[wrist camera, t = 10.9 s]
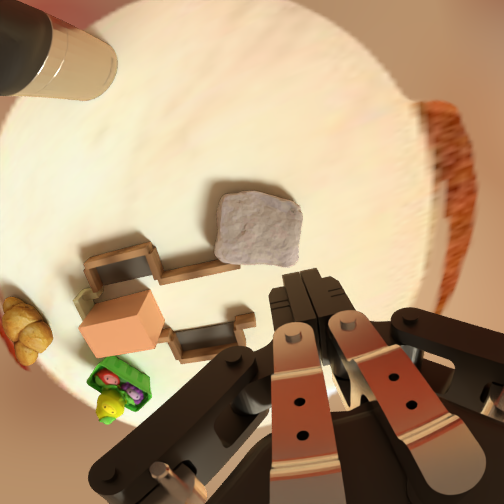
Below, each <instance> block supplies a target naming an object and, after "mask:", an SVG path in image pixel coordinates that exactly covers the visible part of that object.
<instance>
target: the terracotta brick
mask: <svg viewBox="0 0 504 504" xmlns="http://www.w3.org/2000/svg"><path fill="white" fill-rule="evenodd" d="M164 322H165V319H164V317H163V315H162V313H161V311H160V309H159V307H158V305H157V303H156V301H155V298H154V296H153V294H152V292H151V290H146V291H142V292H138V293H135V294H131V295H127V296H123V297H119V298H115V299H112V300H108V301H104V302H100V303H96V304H95V305H94V306H93V308H92V309H91V311H90V312H89V313H88V315H87V316H86V318H85V319H84V320H83V322H82V323H81V325H80V326H79V327H78V329H79V330H80V332H81V334H82V335H83V337H84V339H85V340H86V342H87V344H88V345H89V347H90V348H91V350H92V352H93V353H94V355H95V356H96V358H102V357H108V356H114V355H121V354H127V353H133V352H138V351H144V350H150V349H155V347H156V344H157V342H158V339H159V336H160V333H161V330H162V327H163V325H164Z"/></svg>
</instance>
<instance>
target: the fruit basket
mask: <svg viewBox="0 0 504 504" xmlns="http://www.w3.org/2000/svg"><path fill="white" fill-rule="evenodd" d="M87 384H88V385H89V386H91V387H92V388H94V389H95V390H97V391H99V392H100V393H101V395H99V397H98V400H97V408H96V414H97V416H98V418H99V421H100V422H103V423H104V424H111V423H112V422H113V421H114V420H116V418H117V417H119V416H121V415H122V414H123V413H124V407H126V408H128V409H130V410H131V411H134V412H137V411H139V410H140V409H141V408H142V407H143V406H144V405H145V404H146V403H147V402H148V401H149V400H150V399H151V398H152V394H151V390H150V377H148V376H147V375H145V374H143V373H141V372H139V371H138V370H137V369H135V368H133V367H131V366H129V365H128V364H127V363H125V362H124V361H122V360H120V359H118V358H117V357H116V356H108V357H106V358H105V359H104V360H103V361H102V362H100V363H99V364H97V366H96V367H95V369H94V371H93V372H92V374H91V375H90V377H89V378H88V379H87Z"/></svg>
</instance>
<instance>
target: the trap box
mask: <svg viewBox="0 0 504 504" xmlns="http://www.w3.org/2000/svg"><path fill="white" fill-rule="evenodd" d="M84 266H85V269H84V273H85V275H86V278H87V280H88V282H89V284H90V287H91V288H87V289H86V291H85V292H84V293H83V294H82V295H81V296H82V298H83V300H84V301H86V300H91V299H96V298H99V296H100V295H101V294H102V292H103V291H104V290H103V285H108V284H113V283H117V282H122V281H126V280H131V279H135V278H140V277H145V276H149V275H153V278H154V280H158V282H159V285H165V284H170V283H175V282H179V281H184V280H189V279H194V278H198V277H203V276H208V275H213V274H217V273H222V272H227V271H231V270H236V269H240V265H237V264H229V263H223V262H221V261H220V260H219V259H218V260H214V261H209V262H205V263H200V264H196V265H191V266H187V267H182V268H178V269H173V270H168V271H164V269H163V266H162V263H161V260H160V257H159V255H158V252H157V249H156V247H154V248H153V247H152V244H151V242H147V243H143V244H139V245H135V246H131V247H128V248H124V249H120V250H116V251H112V252H108V253H105V254H101V255H97V256H93V257H90V258H89V259H88V260H87V261H86V262H85V263H84ZM251 327H256V318H255V314H254V312H253V313H249V314H244V315H238V316H236V317H235V322H230V323H225V324H219V325H214V326H208V327H203V328H197V329H191V330H185V331H179V332H173V331H172V329H171V328H166V329H162V330H161V333H160V336H159V339H158V342H157V343H164V342H168V344H169V346H170V348H171V350H172V353H173V355H174V357H175V359H176V360H179V361H180V363H181V364H185V363H192V362H199V361H206V360H212V359H213V358H214V357H215V356H216V355H217V354H218V353H220V352H221V351H222V350H224V349H226V348H229V347H232V346H245V347H246V338H245V335H244V332H243V329H246V328H251Z"/></svg>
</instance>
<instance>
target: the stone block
mask: <svg viewBox="0 0 504 504" xmlns="http://www.w3.org/2000/svg"><path fill="white" fill-rule="evenodd" d="M216 216H217V227H218V233H217V239H216V243H215V245H214V254H215V256H216V257H217V258H218V259H219V260H220V261H221V262H223V263H229V264H237V265H255V264H268V265H276V266H280V267H291V266H293V265H295V264H296V262H297V261H298V258H299V256H298V252H299V250H298V248H299V240H300V234H301V226H302V221H303V215H302V212H301V209H300V206H299V205H298V204H296V203H295V202H293V201H291V200H287V199H283V198H279V197H276V196H274V195H269V194H266V193H263V192H258V191H253V190H252V191H241V192H238V193H231V194H228V193H227V194H224V195H223V196H222V197H221V199H220V202H219V206H218V209H217V213H216Z"/></svg>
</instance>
